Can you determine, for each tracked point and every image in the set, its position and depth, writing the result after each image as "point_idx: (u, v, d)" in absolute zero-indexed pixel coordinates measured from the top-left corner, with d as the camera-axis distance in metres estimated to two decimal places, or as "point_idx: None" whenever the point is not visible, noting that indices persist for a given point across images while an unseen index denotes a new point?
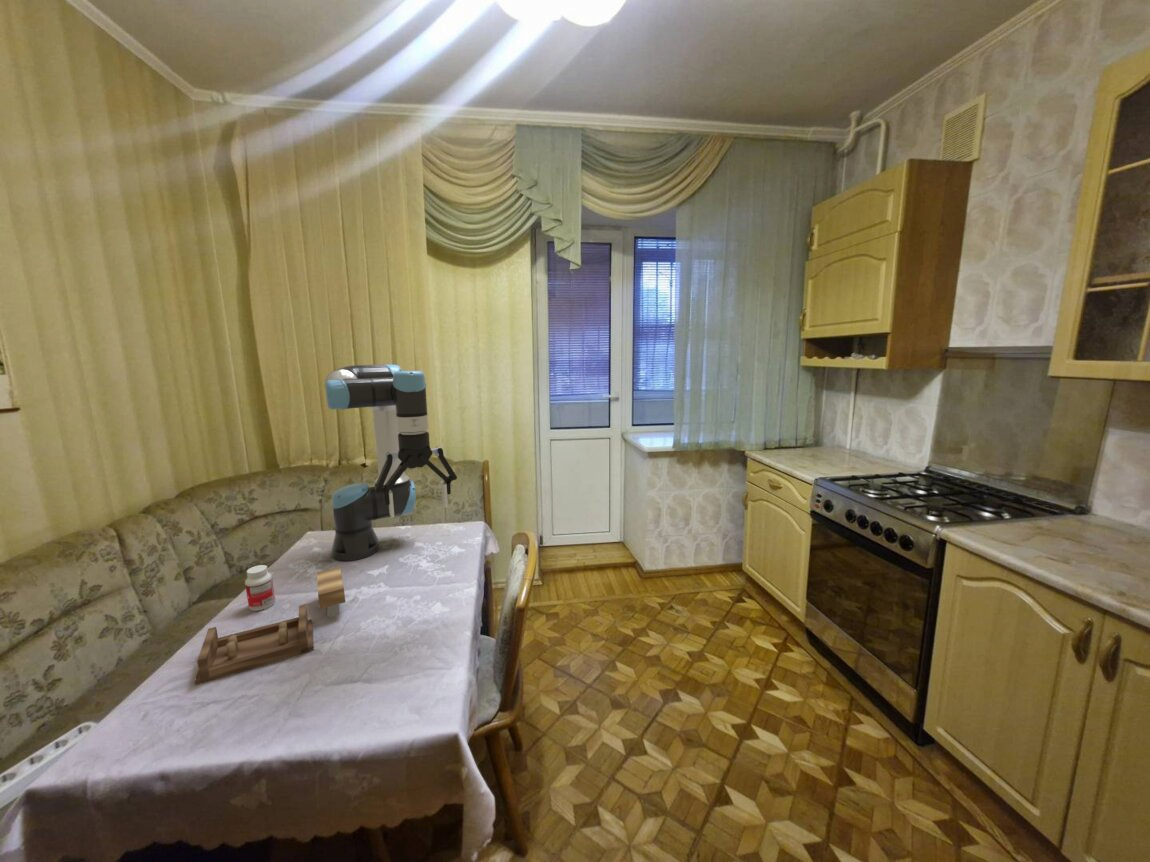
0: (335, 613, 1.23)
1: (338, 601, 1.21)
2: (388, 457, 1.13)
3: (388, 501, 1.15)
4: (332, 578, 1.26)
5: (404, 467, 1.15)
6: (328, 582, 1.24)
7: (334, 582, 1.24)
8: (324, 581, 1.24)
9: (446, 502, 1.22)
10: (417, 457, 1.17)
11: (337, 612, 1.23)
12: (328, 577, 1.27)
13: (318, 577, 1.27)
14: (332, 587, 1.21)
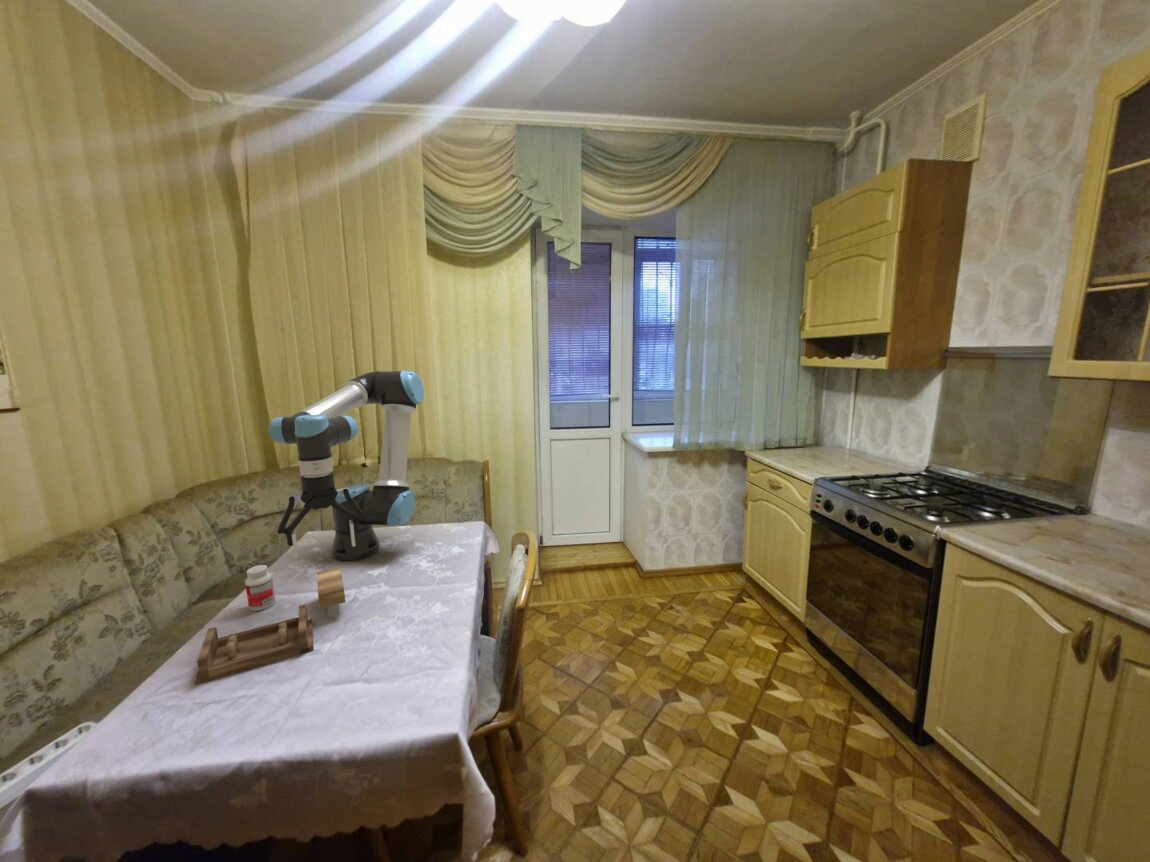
0: (335, 613, 1.23)
1: (338, 601, 1.21)
2: (290, 500, 1.16)
3: (291, 542, 1.18)
4: (332, 578, 1.26)
5: (307, 509, 1.18)
6: (328, 582, 1.24)
7: (334, 582, 1.24)
8: (324, 581, 1.24)
9: (353, 541, 1.25)
10: (321, 498, 1.20)
11: (337, 612, 1.23)
12: (328, 577, 1.27)
13: (318, 577, 1.27)
14: (332, 587, 1.21)
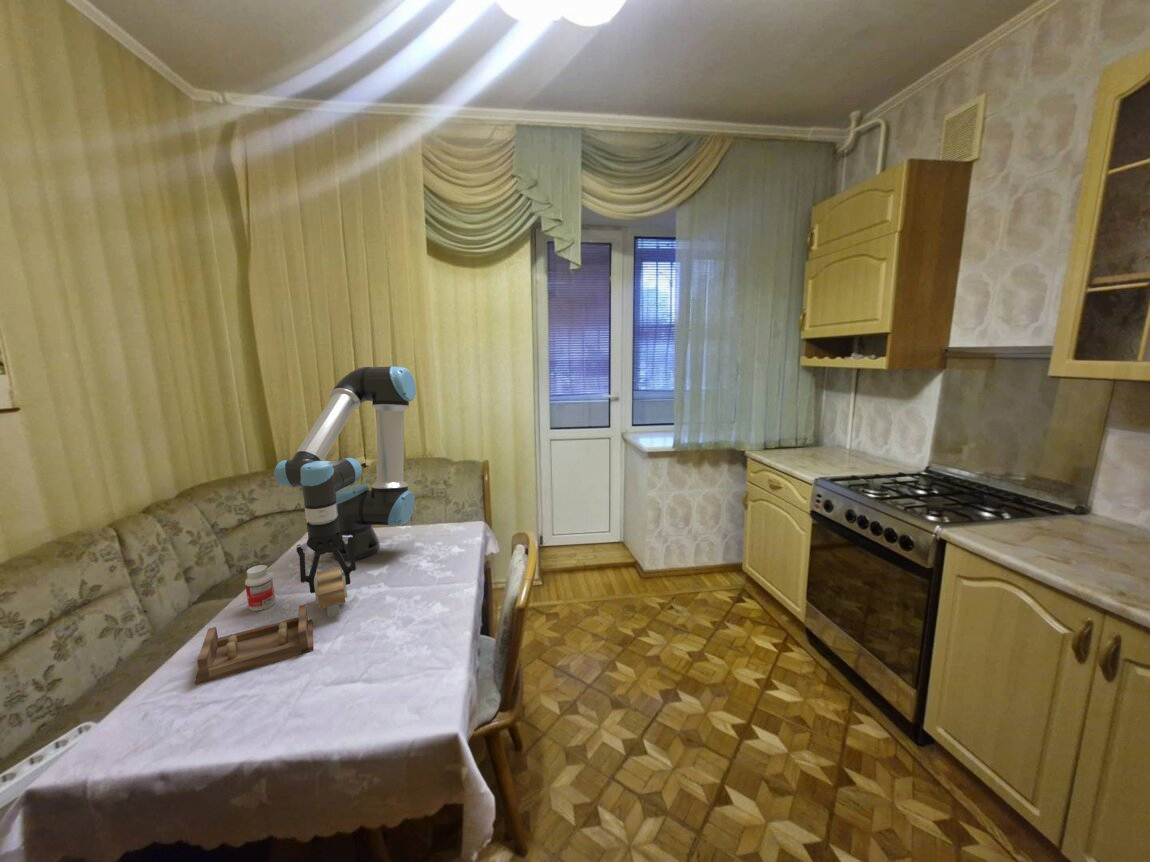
0: (335, 613, 1.23)
1: (338, 601, 1.21)
2: (297, 551, 1.19)
3: (313, 589, 1.23)
4: (332, 578, 1.26)
5: (317, 555, 1.21)
6: (328, 582, 1.24)
7: (334, 582, 1.24)
8: (324, 581, 1.24)
9: (345, 592, 1.27)
10: (326, 542, 1.22)
11: (337, 612, 1.23)
12: (328, 577, 1.27)
13: (318, 577, 1.27)
14: (332, 587, 1.21)
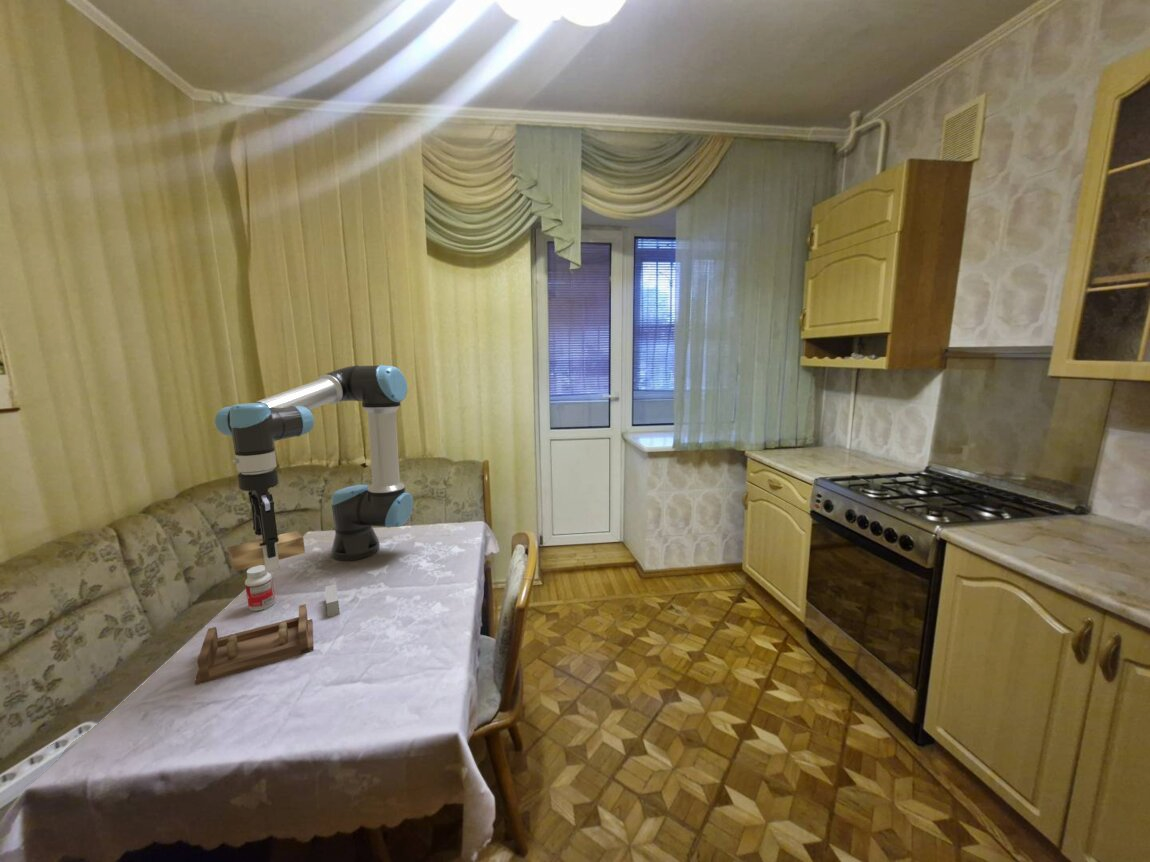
0: (335, 613, 1.23)
1: (233, 566, 1.03)
2: (249, 494, 1.10)
3: None
4: None
5: (251, 507, 1.07)
6: None
7: (256, 546, 1.06)
8: None
9: (265, 565, 1.06)
10: None
11: (337, 612, 1.23)
12: None
13: (279, 535, 1.12)
14: (241, 548, 1.05)
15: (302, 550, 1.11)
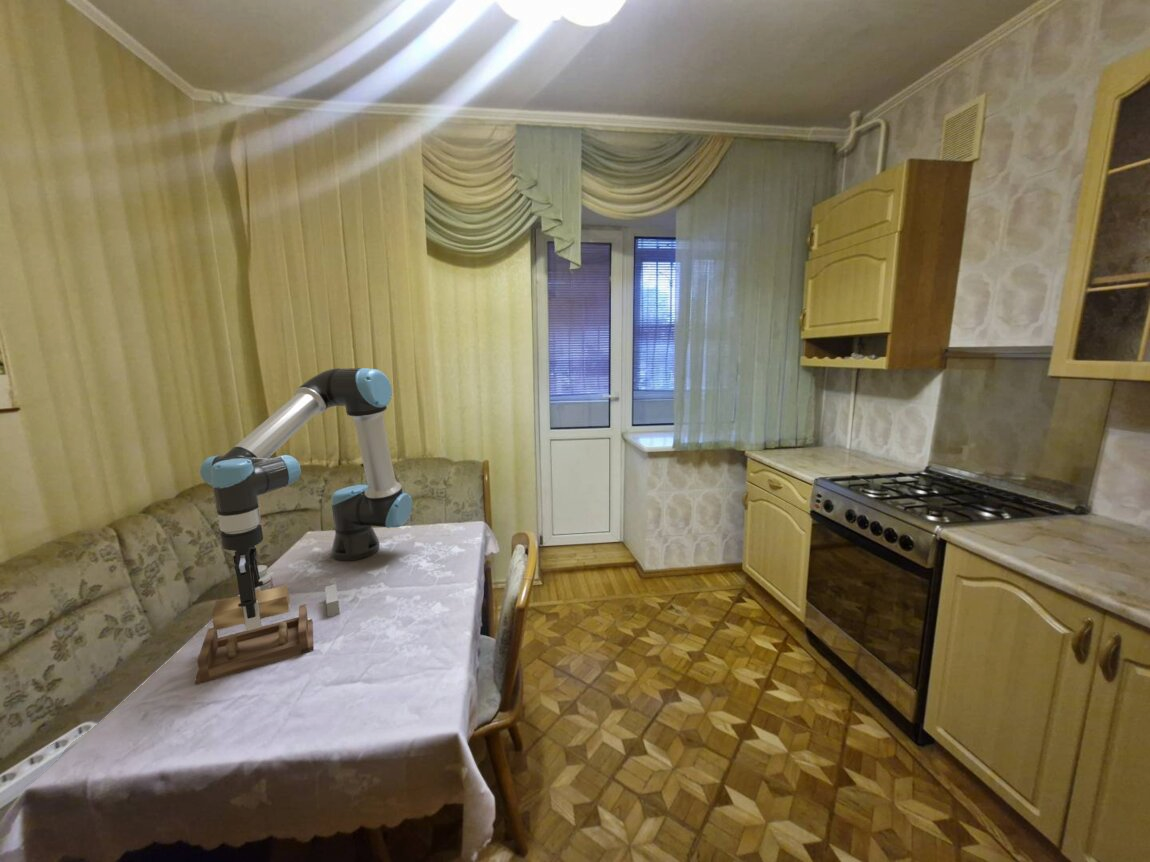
0: (335, 613, 1.23)
1: None
2: None
3: None
4: None
5: None
6: None
7: None
8: None
9: None
10: None
11: (337, 612, 1.23)
12: (261, 596, 1.07)
13: (269, 589, 1.10)
14: (225, 605, 1.03)
15: (286, 609, 1.07)
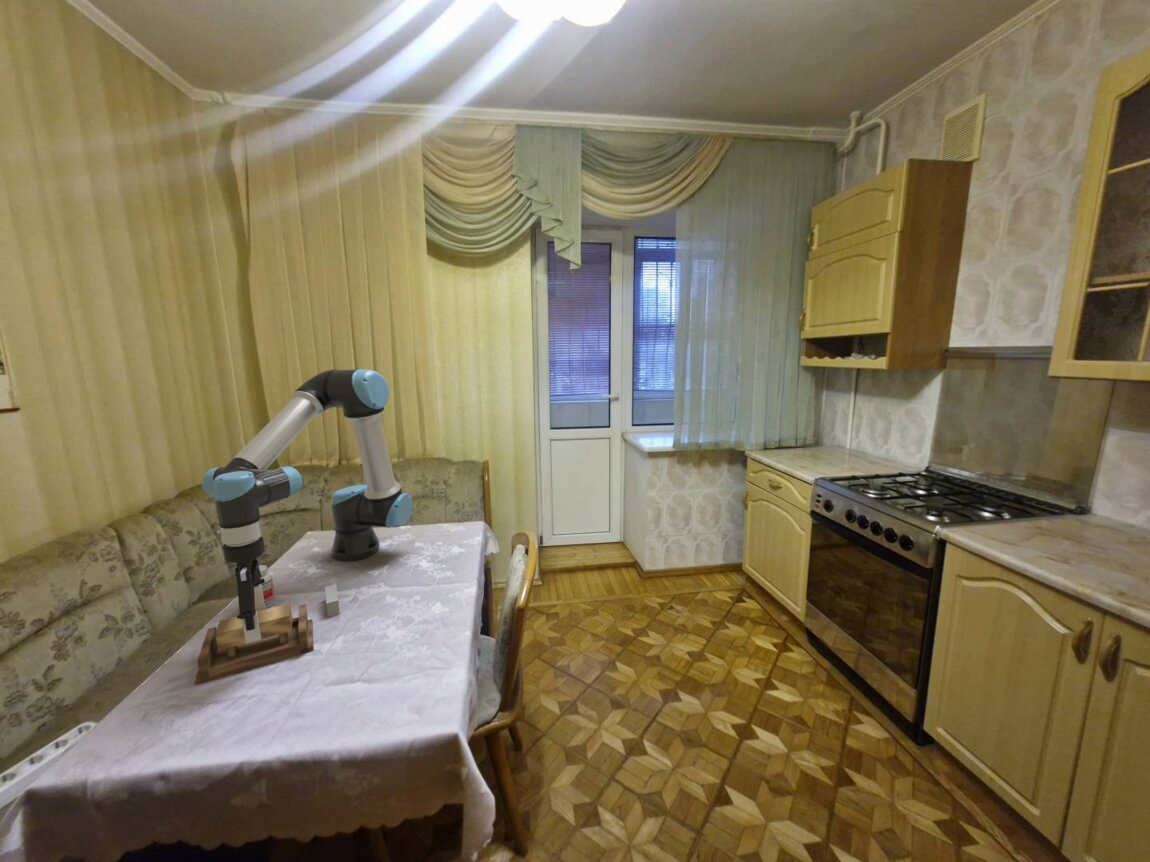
0: (335, 613, 1.23)
1: None
2: None
3: None
4: None
5: None
6: None
7: None
8: None
9: (245, 636, 1.01)
10: None
11: (337, 612, 1.23)
12: (264, 615, 1.08)
13: (272, 608, 1.11)
14: (229, 625, 1.04)
15: (289, 628, 1.08)
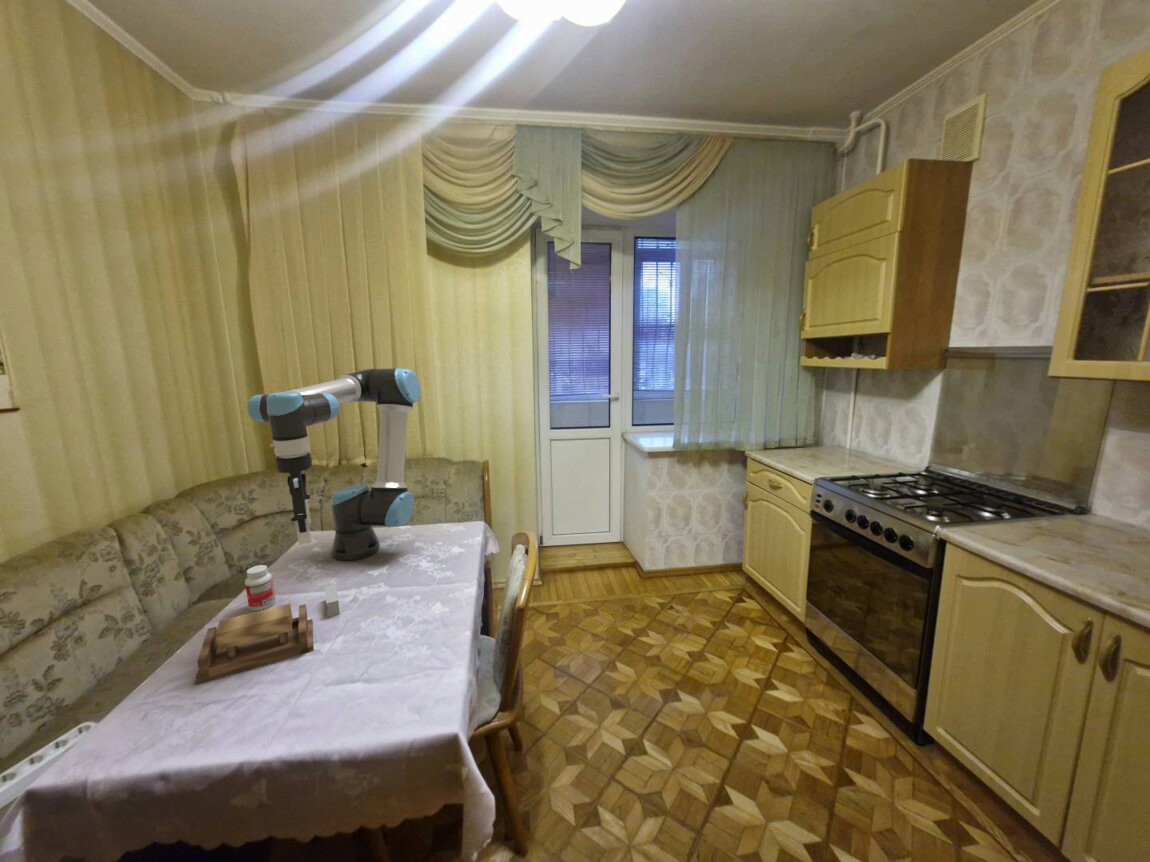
0: (335, 613, 1.23)
1: None
2: None
3: None
4: (257, 618, 1.07)
5: None
6: (248, 618, 1.07)
7: (243, 623, 1.05)
8: (254, 615, 1.08)
9: (298, 539, 1.12)
10: None
11: (337, 612, 1.23)
12: (264, 615, 1.08)
13: (272, 608, 1.11)
14: (229, 625, 1.04)
15: (289, 628, 1.08)
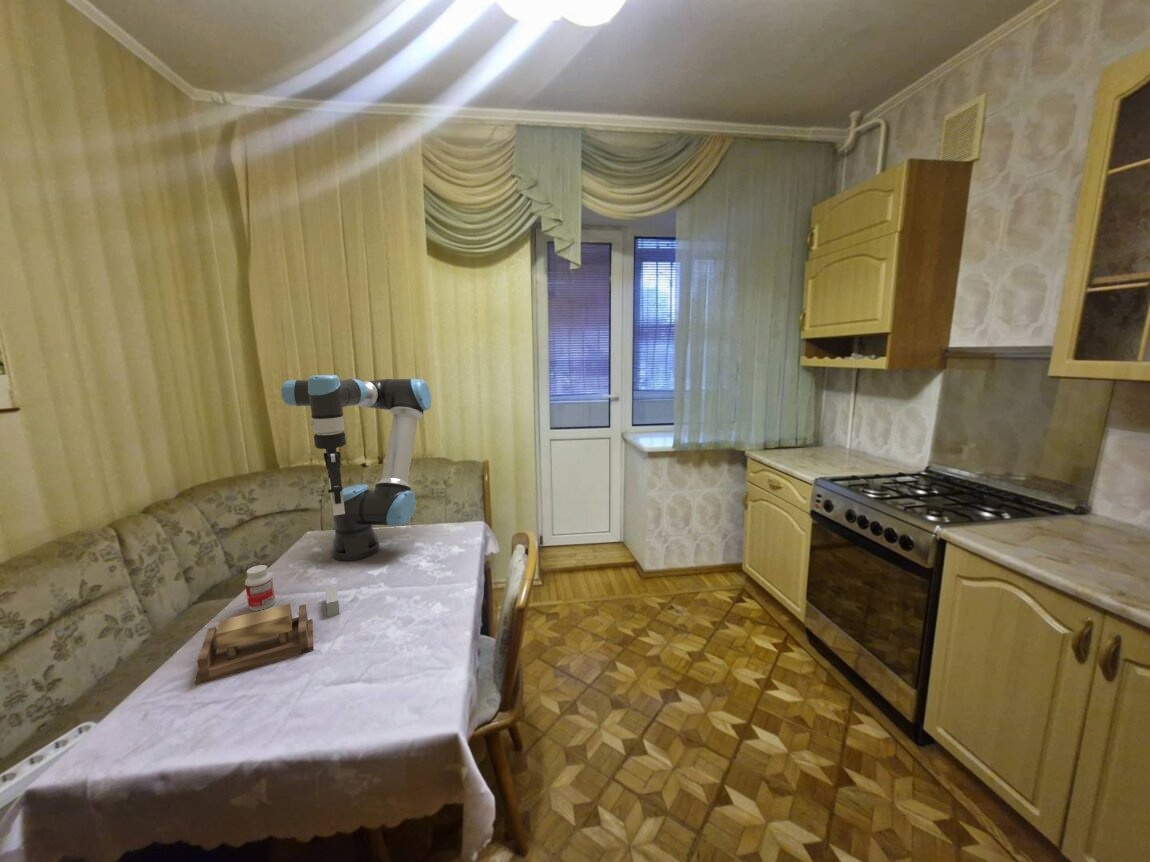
0: (335, 613, 1.23)
1: None
2: None
3: None
4: (257, 618, 1.07)
5: (325, 461, 1.27)
6: (248, 618, 1.07)
7: (243, 623, 1.05)
8: (254, 615, 1.08)
9: (333, 510, 1.21)
10: None
11: (337, 612, 1.23)
12: (264, 615, 1.08)
13: (272, 608, 1.11)
14: (229, 625, 1.04)
15: (289, 628, 1.08)
